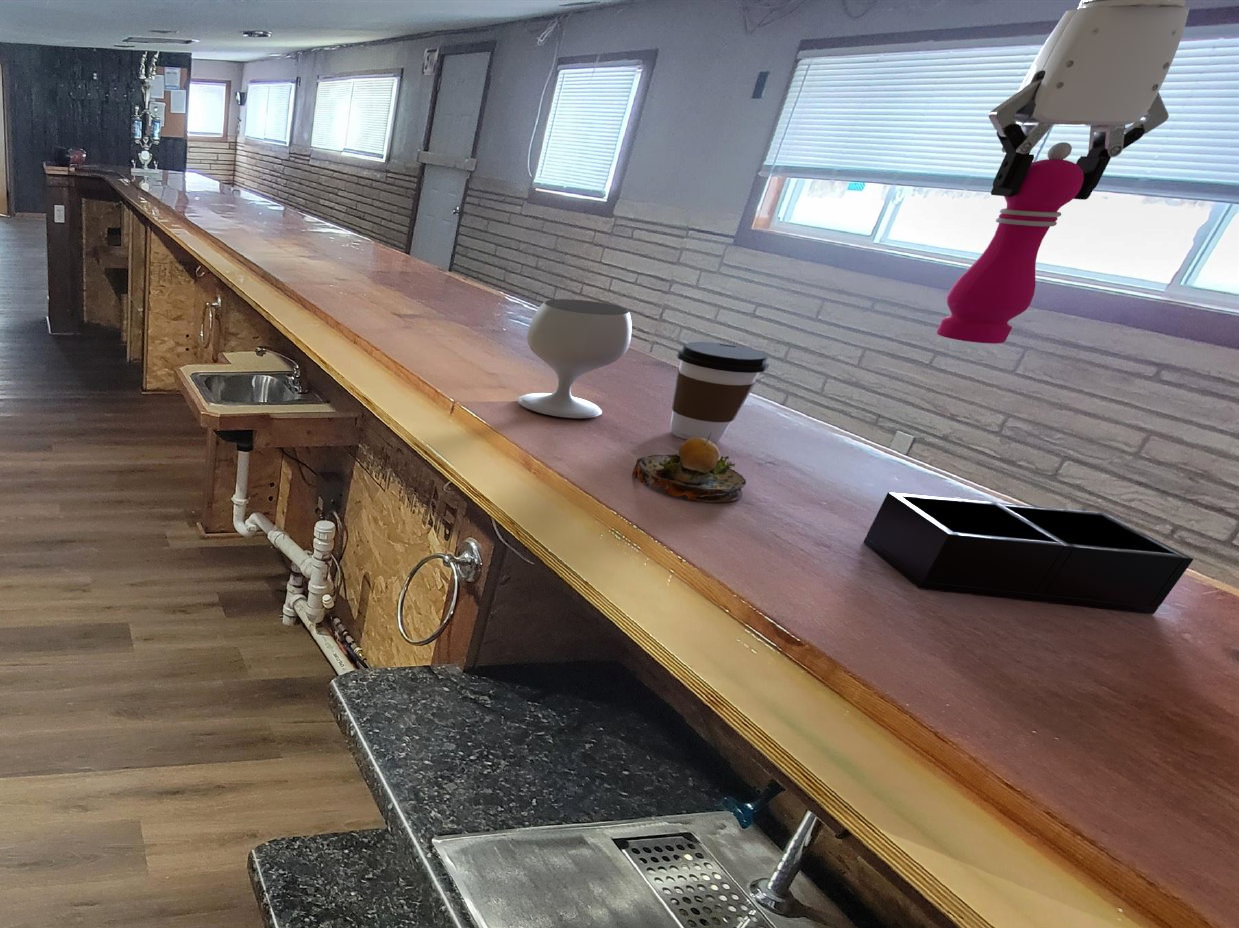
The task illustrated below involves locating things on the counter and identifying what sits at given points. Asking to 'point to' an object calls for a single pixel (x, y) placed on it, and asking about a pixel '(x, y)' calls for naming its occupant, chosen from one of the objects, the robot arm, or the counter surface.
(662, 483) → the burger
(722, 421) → the coffee cup
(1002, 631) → the counter surface
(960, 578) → the divided box
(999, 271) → the pepper mill
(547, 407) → the chalice
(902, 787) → the counter surface
